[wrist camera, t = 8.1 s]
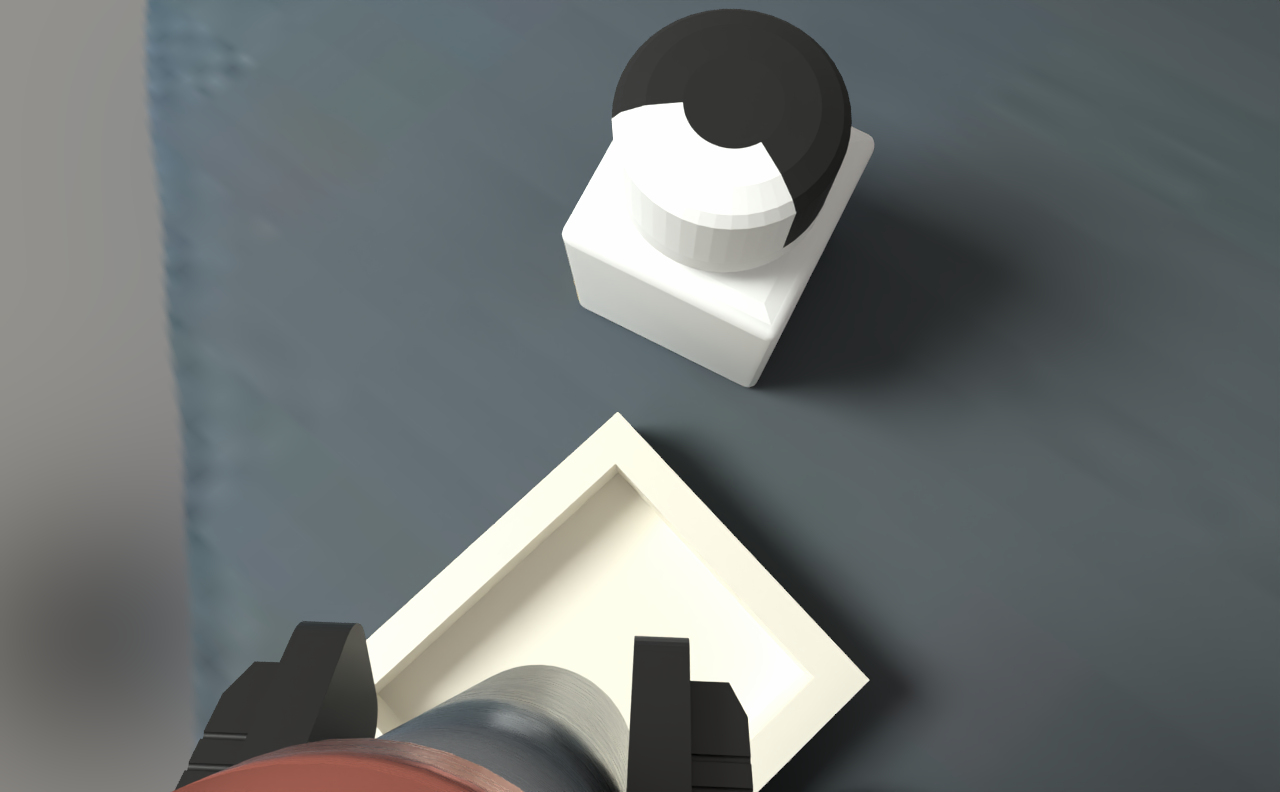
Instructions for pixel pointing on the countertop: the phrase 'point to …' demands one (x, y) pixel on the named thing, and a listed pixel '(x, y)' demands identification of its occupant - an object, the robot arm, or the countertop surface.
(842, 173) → the medicine bottle
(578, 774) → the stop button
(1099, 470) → the countertop surface
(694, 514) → the tray
